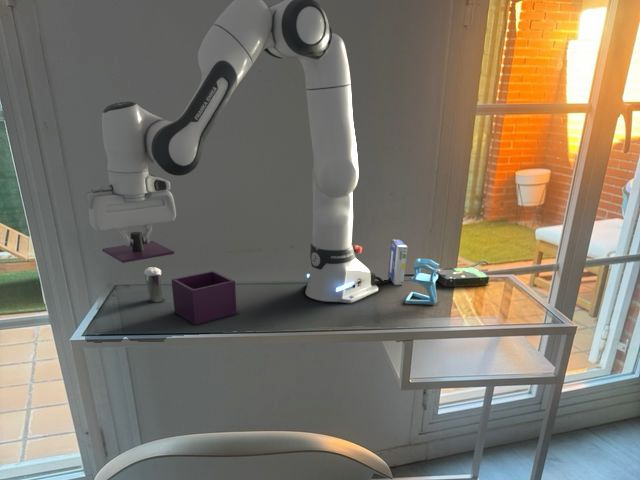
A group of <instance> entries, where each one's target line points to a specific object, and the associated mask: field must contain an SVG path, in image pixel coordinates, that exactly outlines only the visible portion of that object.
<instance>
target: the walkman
mask: <svg viewBox="0 0 640 480" xmlns="http://www.w3.org/2000/svg"><path fill="white" fill-rule="evenodd" d="M407 253H408V246H407V245H406V244H405V243H404V242H403V241H402V240H401V239H391V240H390V251H389V261H388V272H387V278H388V279H389V278H390V277H391V281H390V282H392V284H393V285H394V286H403V285H404V281H405V277H404V274H406V273H405V271H406V263H407Z"/></svg>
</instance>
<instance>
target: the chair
mask: <svg viewBox="0 0 640 480" xmlns="http://www.w3.org/2000/svg"><path fill="white" fill-rule="evenodd" d="M429 264H430V265H432V266H434V268H433V267H432V266H430V265H429ZM439 266H440V264H439V263H437V262H435V261H433V260H432V259H430V258H416V259H415V261H414V263H413V274H414V276H411V279H410V283H416V284H419V285H422V286H423V287H424V288H425V290H426V293H427V295H425V294H421V293H418V292H415V291H411V292H410V293H409V294H408V296H407V297H406V298H405V301H404V302H405V304H407V305H409V304H411V305H432V306H435V305H436V303H437V302H438V296H437V289H436V281H438V280H437V279H438V275H436V271H437V269H439ZM421 269H422V270H423V269H424V270H427V271H429V272H430V273H431V275H429V274H423V272H421ZM412 297H416V298H419V299H411V298H412Z"/></svg>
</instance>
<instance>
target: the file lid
mask: <svg viewBox="0 0 640 480" xmlns="http://www.w3.org/2000/svg"><path fill="white" fill-rule="evenodd" d="M142 235H143V233H142V232H140V231H132V232H130V238H132V239H133V241H134V242H133V243H134V246H130V247H127V246H126V245H125V244H123V245H117V246H110V247H103V248H102V249H101V251H102V252H103V253H105V254H106V255H109V256H110V257H112V258H114V259H115V260H117V261H118V262H119V263H122V264H125V263H130V262H135V261H142V260H147V259H152V258H158V257H164V256H169V255H174V254H175V251H174V250H172V249H170V248H168V247H166V246H164V245H162V244H160V243H158V242H155V241H154V240H149V244H143V240H142Z"/></svg>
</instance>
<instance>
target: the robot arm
mask: <svg viewBox="0 0 640 480" xmlns="http://www.w3.org/2000/svg"><path fill="white" fill-rule="evenodd" d="M263 52H265V53H267V54H268V55H270V56H272V57H274V58H276V59H298V60H299V62H300V64H301V66H302V69H303V72H304V81H305V95H306V102H307V103H306V104H307V115H308V123H309V131H310V139H311V147H312V156H313V162H312V232H311V233H312V234H311V235H312V238H311V240H312V241H311V244H310V248H309V249H310V250H309V258H310V266H309V273H307V274H306V277H307V278H308V280H307V285H306V288H305V291H304V294H305V295H306V296H307V297H308V298H310V299H313V300H316V301H321V302H328V303H344V304H352V303H355V302H357V301H359V300H362V299H363V298H366V297H367V296H370V295H372V294H375V293H377V292H378V291H379V287H378V285H376V280H378V282H380V284H388V283H390V282H392V281H391V277H390V278H389V277H388V279H386V280H383V279H382V278H381V277H380V276H376V273H374V272H371V271H370V269H369V268H368V266H366V265H365V264H363V263H362V262H361V261H360V260H359V259H357V257H356V254H359V255H360V254H361V253H362V252H363V247H362V246H360V245H357V244H356V245H353V244H352V240H353V225H354V223H353V222H354V208H353V207H354V206H353V203H354V201H353V195H354V194H353V193H354V191H355V189H356V187H357V185H358V181H359V178H360V177H359V176H360V175H359V160H358V151H357V141H356V135H355V134H356V133H355V127H354V126H355V125H354V116H353V98H352V83H351V72H350V65H349V60H348V55H347V54H348V53H347V49H346V45H345V42H344V40H343V38H342V37H341V36H339V35H338V34H336V33H334V32H333V30H332V27H331V26H330V25H329V20H328V17H327V14H326V12H325V10H324V8H323V6H321V5H320V3H319V2H317V1H316V0H283V1H281V2H279V3H276V4H274V5H270V6H268V5H267V4H266V2H265V1H264V0H233V1H232V2H231V3H230V4H229V5H227V7H226V8H225V9H224V10H223V11H222V12H221V14H220V15H219V16H218V17H217V19H216V20H215V22H214V23H213V24H212V26H211V27H210V28H209V29H208V31H207V33H206V35H205V36H204V38H203V40H202V42H201V44H200V47H199V49H198V51H197V63H198V67H199V70H200V72H201V78H200V83H199V86H198V87H197V89H196V91H195V92H194V94H193V96H192V97H191V99H190V101H189V102H188V104H187V105H186V107H185V109H184V110H183V112H182V114H181V115H180V116H179V117H178V118H177V119H175V120H173V121H171V120H168V119H165V118H162V117H160V116H157V115H155V114H153V113H151V112H149V111H147V110H146V109H144V108H143V107H141V106H140V105H138V103H137V102H134V101H122V102H115V103H112V104H110V105H107V106H106V107H105V108H104V110H103V111H102V114H101V130H102V131H101V134H102V141H103V148H104V152H105V153H106V157H107V166H106V169H107V176H108V182H109V184H108V185H102V186H92V187H90V189H89V190H88V191H87V192H86V194H85V198H86V203H87V206H88V215H89V216H88V217H89V225H90V226H91V227H92V229H94V230H95V231H97V232H106V231H113V230H117V231H118V232H119V234H120V235H121V237H123V240H124V245H126V246H127V247H130V246H134V243H133V242H134V241H133V239H132V238H131V236H128V234H127V233H128V228H135V227H140V226H141V227H143V229H144V231H143V233H142V240H143V244H149V241H150V236H151V233H152V231H153V225H155V224H163V223H169V222H174V221H175V220H176V217H177V209H176V204H175V199H174V196H173V194H172V192H171V191H170V190H171V182H170V181H169V180H167V179H165V178H162V177H159V176H156V175H154V174H150V172H149V166H150V165H157V166H159V167H160V168H161V169H162V170H163V171H165V173H167V174H170V175H172V176H178V177H179V176H185V175H188V174H190V173H191V172H193V171H194V170H195V169H196V168H197V166H198V164H199V163H200V160H201V157H202V153H203V149H204V145H205V142H206V140H207V137H208V135H209V134H210V132H211V130H212V129H213V127H214V126H215V124H216V122H217V120H218V119H219V117H220V115H221V114H222V112H223V111H224V109H225V107H226V106H227V104H228V102H229V100H230V99H231V97H232V95H233V94H234V92H235V90H236V88H237V87H238V85H239V84H240V83H241V81H242V80H243V78H244V77H245V76H246V74H247V73H248V72H249V70H250V69H251V67H252V66H253V65H254V63H255V62H256V60H257V59H258V57H259V56H260V55H261V54H262V53H263ZM355 253H356V254H355ZM484 263H485V264H486V265H490V262H489V261H488V260H486V259H482V260H480V261H478V262H476V263H474V264H471V265H468V266H467V267H470V268H472V267H473V268H476V267H477V266H480V265H481V264H484ZM422 273H423V272H422ZM431 273H432V272H424V273H423V274H429V275H431ZM413 276H414V273H404V278H405V277H413Z"/></svg>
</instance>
